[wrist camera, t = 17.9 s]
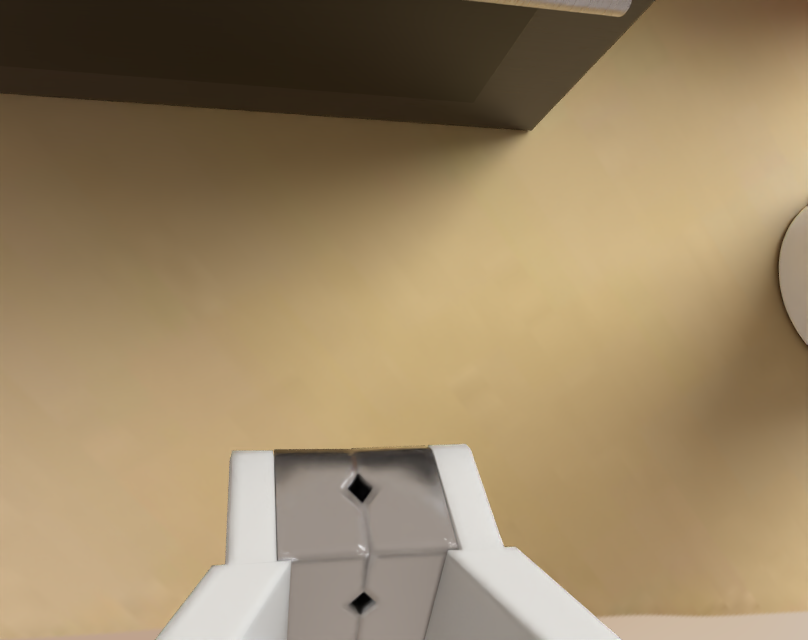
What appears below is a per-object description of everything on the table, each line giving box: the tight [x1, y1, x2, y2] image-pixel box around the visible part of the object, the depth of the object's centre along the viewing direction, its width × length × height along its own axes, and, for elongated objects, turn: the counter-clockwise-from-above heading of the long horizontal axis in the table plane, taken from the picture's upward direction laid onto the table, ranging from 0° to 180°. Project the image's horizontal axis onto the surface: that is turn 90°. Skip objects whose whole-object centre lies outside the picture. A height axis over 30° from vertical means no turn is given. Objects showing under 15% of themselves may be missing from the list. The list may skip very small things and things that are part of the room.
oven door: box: [0, 0, 655, 130], centre depth 35 cm, size 6×40×24 cm, turn 91°
